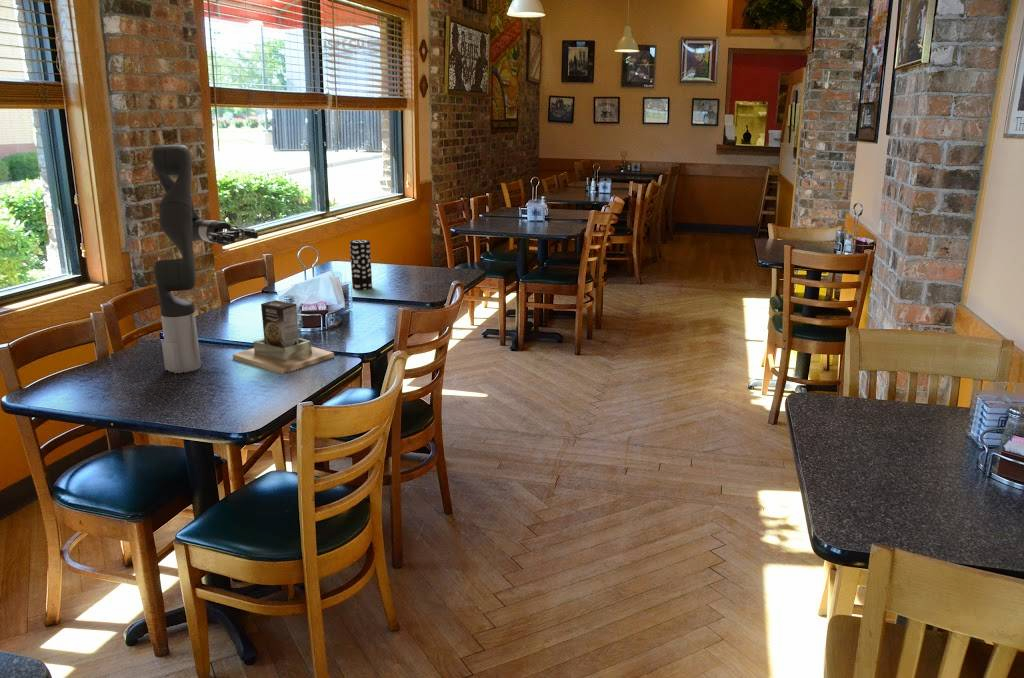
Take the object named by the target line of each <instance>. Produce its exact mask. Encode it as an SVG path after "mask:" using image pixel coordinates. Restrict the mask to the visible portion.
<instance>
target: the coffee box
mask: <svg viewBox="0 0 1024 678" xmlns="http://www.w3.org/2000/svg"><path fill="white" fill-rule="evenodd" d="M260 305H261V306H260V307H261V308H260V309H261V317H262V331H263V339H264V341H265V343H266V344H269V345H273V346H276V347H280V348H286V347H289V346H292V345H296V344H299V338H300V337H299V324H298V310H297V303H293V302H287V301H284V300H283V301H281V300H276V299H275V300H272V301H271V300H270V301H267V302H263V303H261V304H260Z"/></svg>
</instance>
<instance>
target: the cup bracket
mask: <svg viewBox="0 0 1024 678" xmlns="http://www.w3.org/2000/svg"><path fill="white" fill-rule="evenodd" d="M334 357H335V352H334V351H331V350H326V349H322V348H318V347H315V346H312V341H311V340H309V339H306V338H305V339H304V338H301V337H299V344H296V345H292V346H289V347H286V348H280V347H276V346H273V345H269V344H266V343H265V341H264V338H262V339H257V340H255V341H253V347H252V348H249V349H246V350H243V351H242V350H241V351H238V352H236V353H233V354H232V359H233V360H236V361H238V362H242V363H244V364H245V363H246V364H249V365H251V366H255V367H258V368H261V369H264V370H267V371H271V372H273V371H274V372H273V373H276V372H277V374H279V373H281V375H285V374H287V373H286V372H288V373H291V372H294V371H297V370H300V369H302V368H306V367H309V366H312V365H314V364H317V363H320V362H321V363H322V362H324V361H326V360H329V359H333V358H334ZM299 368H300V369H299ZM296 369H297V370H296ZM293 370H294V371H293ZM290 371H291V372H290ZM284 373H285V374H284Z"/></svg>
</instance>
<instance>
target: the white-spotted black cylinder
mask: <svg viewBox="0 0 1024 678" xmlns="http://www.w3.org/2000/svg"><path fill="white" fill-rule="evenodd" d="M349 252H350V255H349V256H350V269H351V285H352V289H353V290H354V289H356V290H355V291H368V290H370V289H372V288H373V278H372V277H373V275H372V260H371V258H372V255H371V240H369V239H354V240H350V241H349Z"/></svg>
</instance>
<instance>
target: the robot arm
mask: <svg viewBox="0 0 1024 678" xmlns="http://www.w3.org/2000/svg"><path fill="white" fill-rule="evenodd" d="M191 155H192V154H191V151H190V148H189V147H188V146H186V145H184V144H169V145H167V144H165V145H164V144H163V145H155V146H154V147H152V151H151V161H152V166H153V169H154V172H155V173H156V176H157V178H158V181H159V183H160V184H161V187H162V188H163V190H164V192H165V195H164V196H163V197H162V199H161V201H160V202H159V207H158V211H159V217H158V220H159V226H160V228H161V230H162V232H163V233H164V234H165V236H166V237H167V238H168V239H169V240H170V241H171V242H172V243H173V244H174V245H175V247H176V248H177V250H178V251H179V253H180V255H181V257H182V258H176V259H172V258H171V259H160V260H157V261H156V262H154V264H153V266H154V267H153V272H154V273H153V274H154V276H153V277H154V281H155V285H156V286H155V287H156V292H157V295H158V303H159V310H160V316H161V317H160V318H161V324H162V333H163V339H161V347H162V349H161V350H162V354H163V362H164V370H165V371H167V370H168V372H170V373H173V372H174V374H176V373H178V374H182V373H183V372H184V373H190V371H191V372H194V371H197V370H199V369H200V368H201V367H202V361H201V354H200V353H201V352H200V346H199V337H198V329H197V328H198V327H197V322H196V321H197V320H196V312H195V305H194V302H192V301H191V300H187V299H183V298H181V297H178V296H177V295H174V294H172V292H181V291H191V290H193V289H194V288H195V286H196V278H197V277H196V265H195V257H194V256H195V255H194V247H193V242H196V241H197V242H198V241H205V242H208V243H211V244H217V245H223V246H225V245H227V244H229V243H236V240H244V239H247V238H249V239H254V240H256V239H258V237H259V234H258V231H255V230H256V229H255V228H249V227H244V226H243V227H241V228H237V227H232V226H231V224H230V223H229V222H226V221H219V220H213V219H212V220H211V219H210V220H208V219H201V217H200V215H198V213H197V212H196V210H195V206H194V202H193V200H192V193H191V190H192V189H191V187H192V185H191V184H192V166H193V165H192V156H191ZM172 176H176V180H175V179H174V178H173V177H172ZM240 235H241V236H240Z"/></svg>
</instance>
